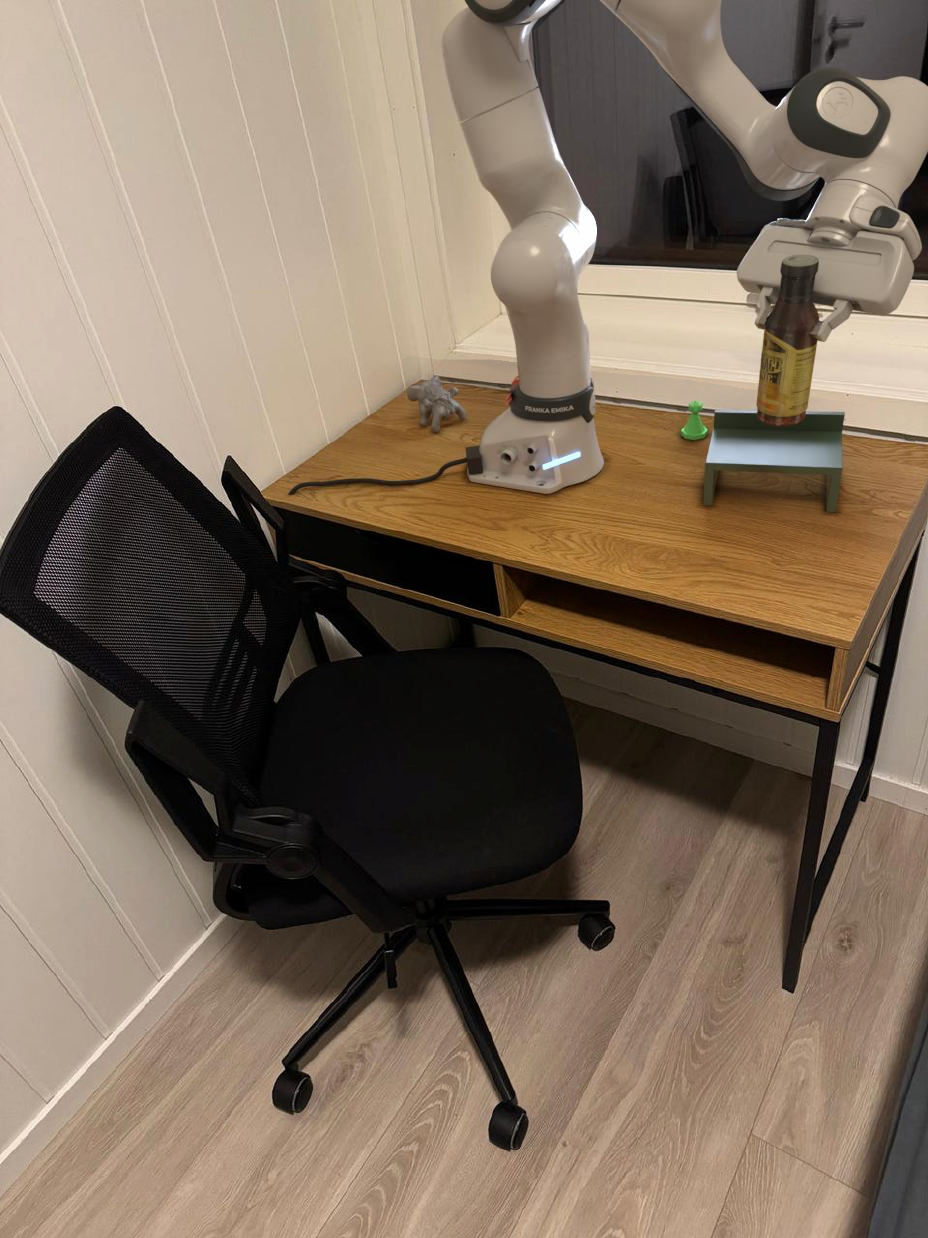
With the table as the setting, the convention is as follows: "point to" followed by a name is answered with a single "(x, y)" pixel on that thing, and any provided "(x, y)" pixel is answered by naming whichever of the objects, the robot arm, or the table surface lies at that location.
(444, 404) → the gray elephant figurine
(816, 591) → the table surface
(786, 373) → the sauce bottle
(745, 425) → the shelf
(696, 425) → the game piece
